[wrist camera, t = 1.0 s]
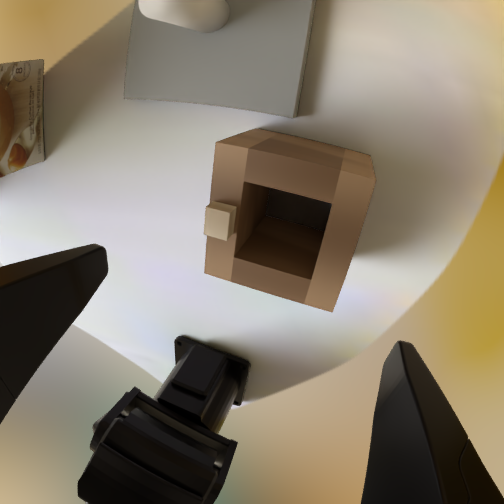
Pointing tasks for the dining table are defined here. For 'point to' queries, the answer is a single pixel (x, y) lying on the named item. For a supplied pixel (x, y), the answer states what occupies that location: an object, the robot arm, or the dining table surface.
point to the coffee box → (21, 115)
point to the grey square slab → (220, 53)
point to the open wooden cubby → (281, 231)
